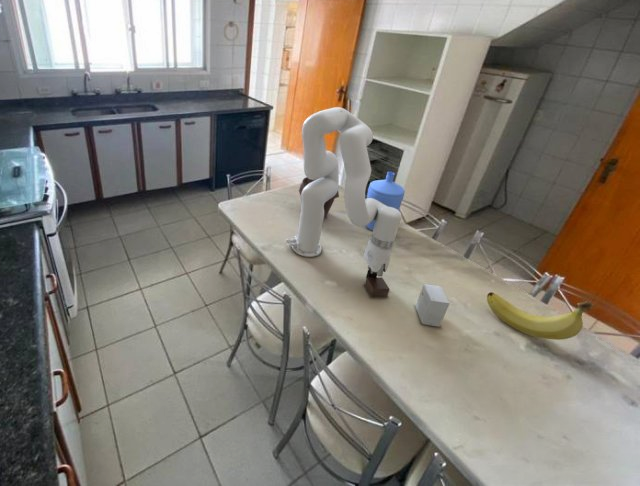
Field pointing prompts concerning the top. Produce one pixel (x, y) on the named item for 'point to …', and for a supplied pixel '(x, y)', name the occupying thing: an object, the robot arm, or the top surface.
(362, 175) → the robot arm
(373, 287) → the walnut block
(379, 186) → the water jug
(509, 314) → the banana
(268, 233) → the top surface
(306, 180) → the case
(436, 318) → the small box
